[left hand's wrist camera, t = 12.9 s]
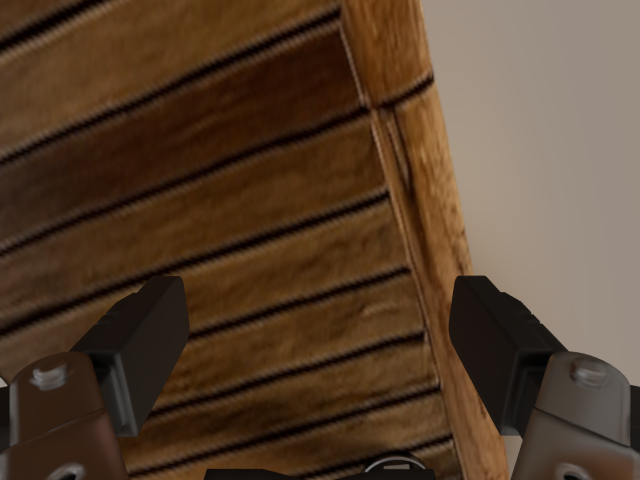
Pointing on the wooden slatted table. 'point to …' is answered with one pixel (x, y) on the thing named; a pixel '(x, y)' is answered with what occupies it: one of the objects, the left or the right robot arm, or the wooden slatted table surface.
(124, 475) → the left robot arm
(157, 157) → the wooden slatted table surface
